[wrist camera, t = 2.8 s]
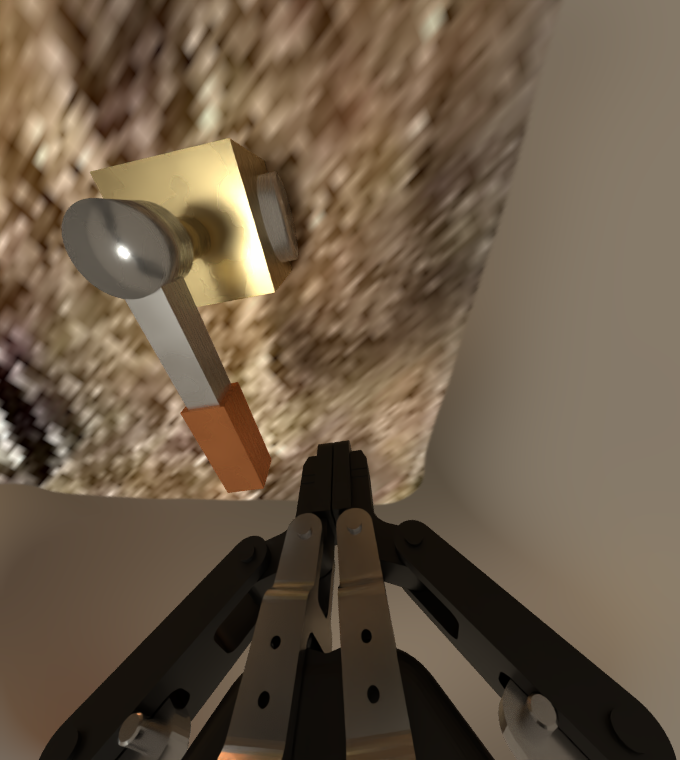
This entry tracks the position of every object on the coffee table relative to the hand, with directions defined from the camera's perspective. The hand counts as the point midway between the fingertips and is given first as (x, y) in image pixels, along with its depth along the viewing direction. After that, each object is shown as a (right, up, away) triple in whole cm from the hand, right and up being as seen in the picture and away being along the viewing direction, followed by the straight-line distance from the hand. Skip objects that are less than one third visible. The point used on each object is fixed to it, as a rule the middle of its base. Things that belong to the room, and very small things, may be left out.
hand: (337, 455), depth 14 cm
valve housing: (-8, +15, +7) cm, 18 cm away
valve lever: (-7, +5, +1) cm, 8 cm away
